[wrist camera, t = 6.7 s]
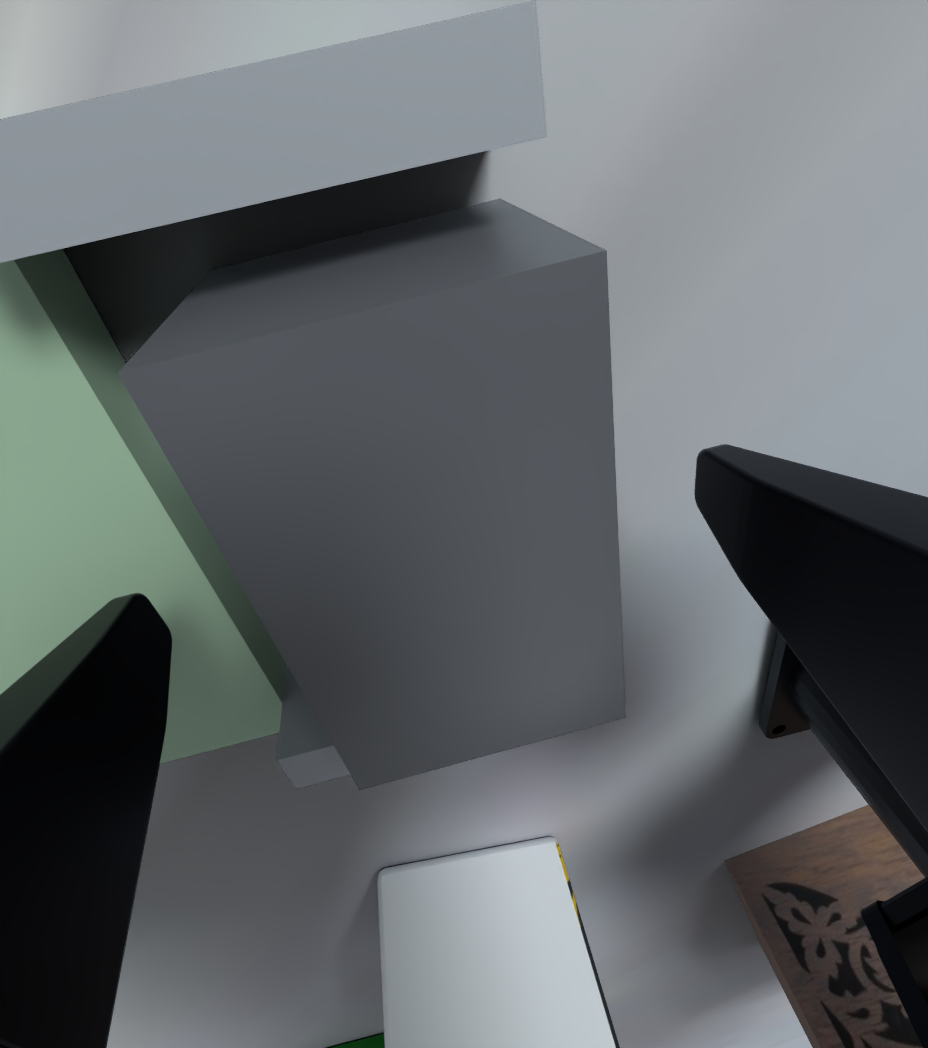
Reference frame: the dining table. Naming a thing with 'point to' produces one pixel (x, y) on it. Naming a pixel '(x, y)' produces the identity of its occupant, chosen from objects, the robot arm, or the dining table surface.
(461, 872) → the medicine bottle
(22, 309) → the deck
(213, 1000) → the dining table surface
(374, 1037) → the milk carton
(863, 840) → the tissue box cover
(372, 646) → the gray cuboid pillar
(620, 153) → the dining table surface
